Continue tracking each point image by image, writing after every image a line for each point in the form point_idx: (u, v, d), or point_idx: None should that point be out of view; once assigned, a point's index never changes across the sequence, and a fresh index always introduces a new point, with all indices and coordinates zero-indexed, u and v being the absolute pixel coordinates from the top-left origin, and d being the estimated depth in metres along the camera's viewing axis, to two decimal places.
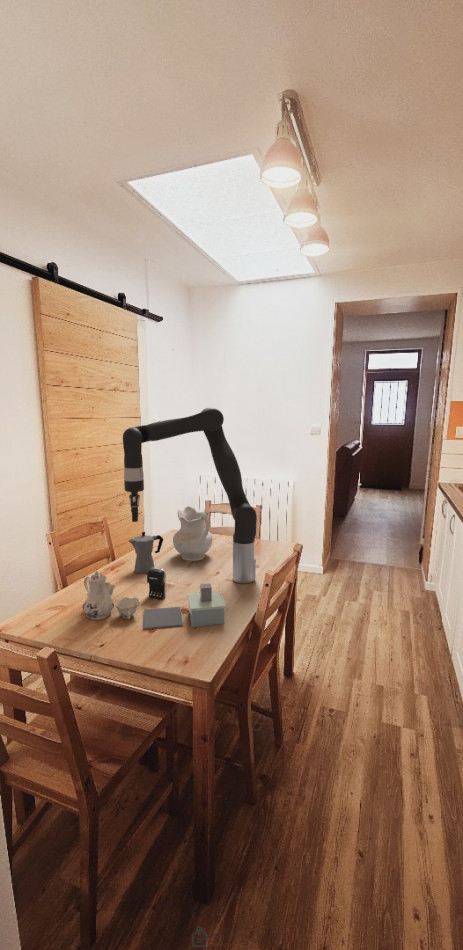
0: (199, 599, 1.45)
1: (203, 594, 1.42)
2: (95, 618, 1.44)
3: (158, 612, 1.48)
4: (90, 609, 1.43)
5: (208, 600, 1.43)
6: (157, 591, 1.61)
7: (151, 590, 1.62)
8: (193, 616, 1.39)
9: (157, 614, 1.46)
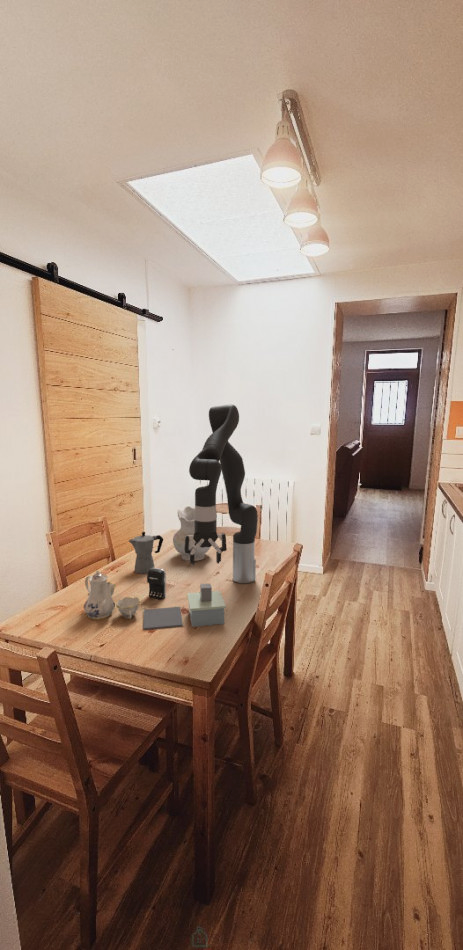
0: (199, 599, 1.45)
1: (203, 594, 1.42)
2: (96, 618, 1.44)
3: (158, 612, 1.48)
4: (91, 608, 1.43)
5: (208, 600, 1.43)
6: (157, 591, 1.61)
7: (151, 590, 1.62)
8: (193, 616, 1.39)
9: (157, 614, 1.46)
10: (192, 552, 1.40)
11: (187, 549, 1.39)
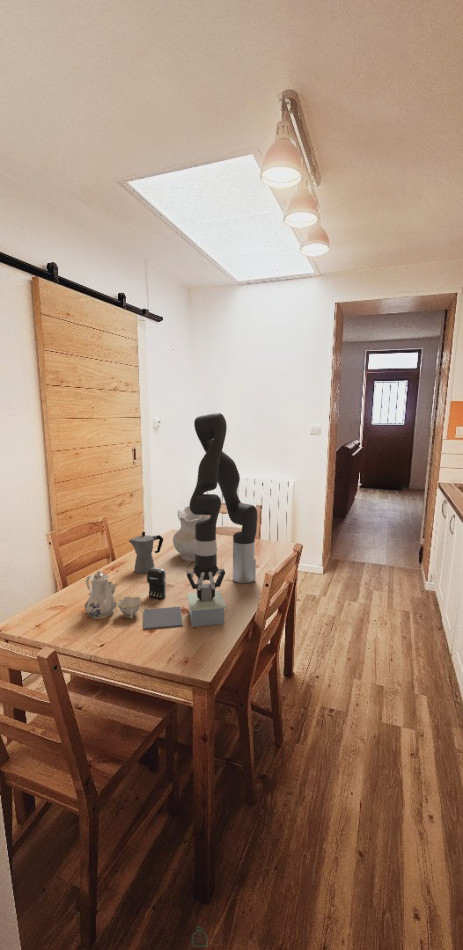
0: None
1: (204, 594, 1.42)
2: (97, 617, 1.44)
3: (158, 612, 1.48)
4: (92, 608, 1.44)
5: (208, 600, 1.43)
6: (157, 591, 1.61)
7: (151, 590, 1.62)
8: (193, 616, 1.39)
9: (157, 614, 1.46)
10: (199, 587, 1.42)
11: (194, 585, 1.42)
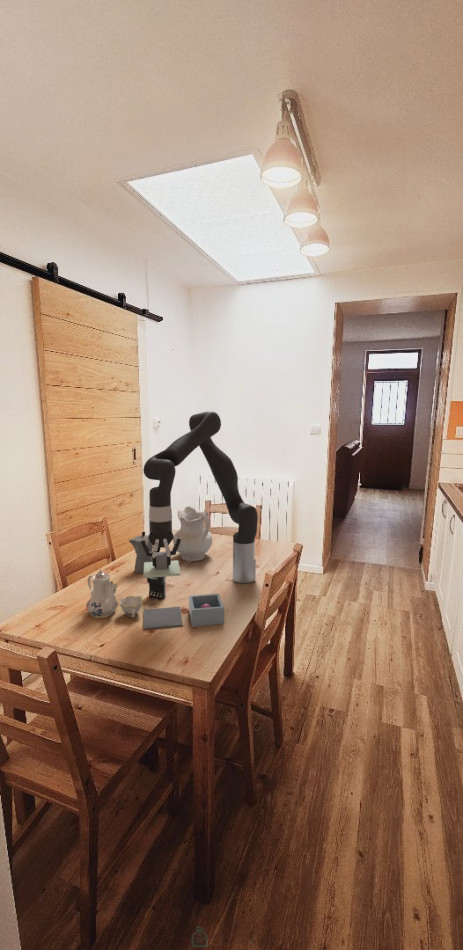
0: None
1: (158, 562, 1.40)
2: (99, 616, 1.45)
3: (158, 612, 1.48)
4: (94, 607, 1.44)
5: (163, 568, 1.40)
6: (157, 591, 1.61)
7: (151, 590, 1.62)
8: (193, 616, 1.39)
9: (157, 614, 1.46)
10: (154, 555, 1.40)
11: (149, 552, 1.39)
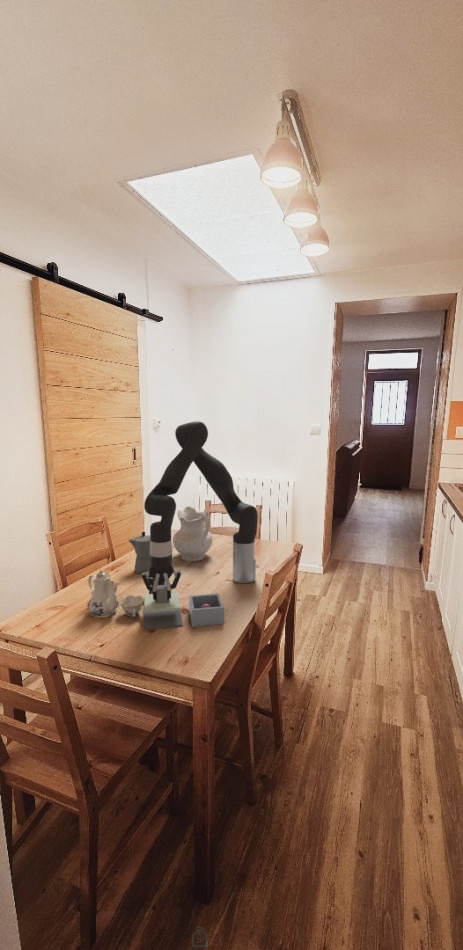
0: None
1: (159, 596, 1.42)
2: (100, 616, 1.45)
3: (158, 612, 1.48)
4: (95, 607, 1.44)
5: (164, 602, 1.42)
6: None
7: (151, 590, 1.62)
8: (193, 616, 1.39)
9: (157, 614, 1.46)
10: (154, 589, 1.42)
11: (149, 586, 1.41)
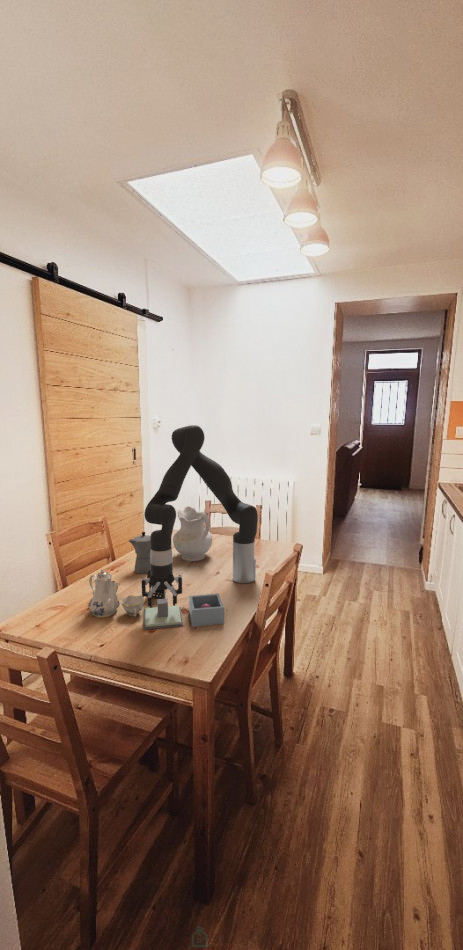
0: (156, 614, 1.45)
1: (160, 610, 1.42)
2: (101, 616, 1.45)
3: None
4: (96, 607, 1.45)
5: (164, 616, 1.43)
6: (157, 591, 1.61)
7: None
8: (193, 616, 1.39)
9: None
10: (149, 595, 1.41)
11: (144, 593, 1.41)
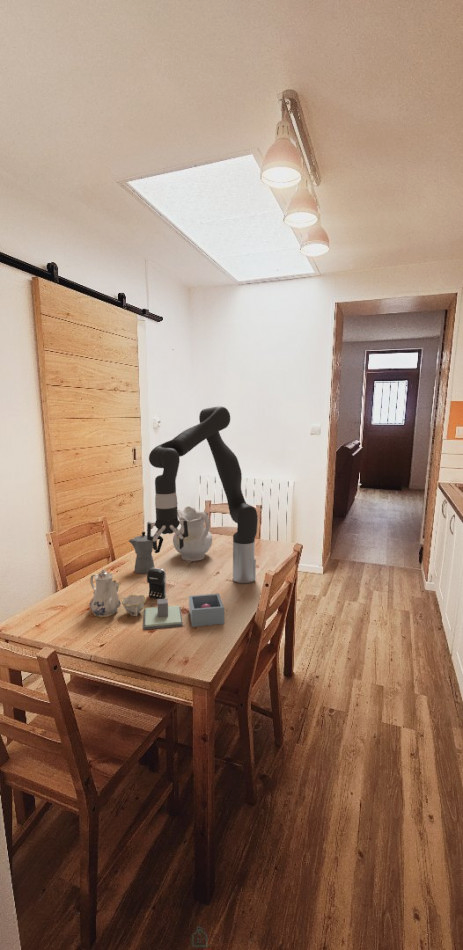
0: (156, 614, 1.45)
1: (160, 610, 1.42)
2: (102, 615, 1.46)
3: None
4: (97, 606, 1.45)
5: (164, 616, 1.43)
6: (157, 591, 1.61)
7: (151, 590, 1.62)
8: (193, 616, 1.39)
9: None
10: (154, 539, 1.43)
11: (149, 536, 1.43)
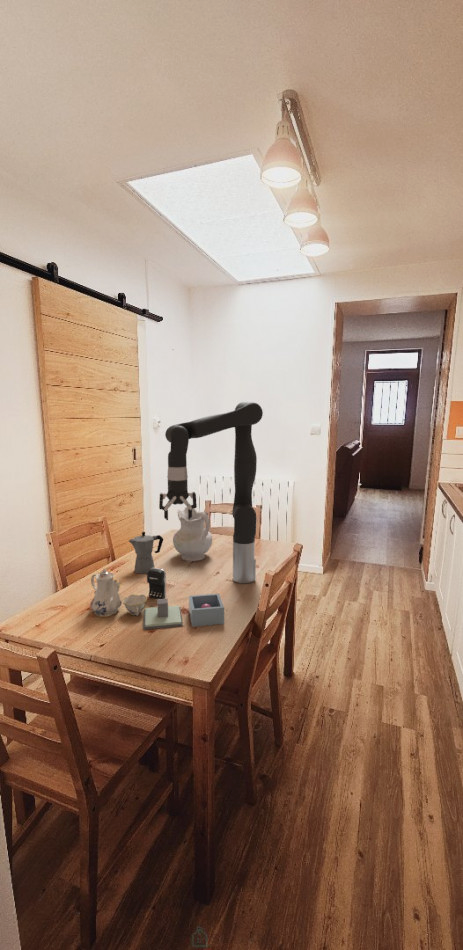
0: (156, 614, 1.45)
1: (160, 610, 1.42)
2: (103, 615, 1.46)
3: None
4: (98, 606, 1.45)
5: (164, 616, 1.43)
6: (157, 591, 1.61)
7: (151, 590, 1.62)
8: (193, 616, 1.39)
9: None
10: (166, 508, 1.58)
11: (161, 506, 1.58)
